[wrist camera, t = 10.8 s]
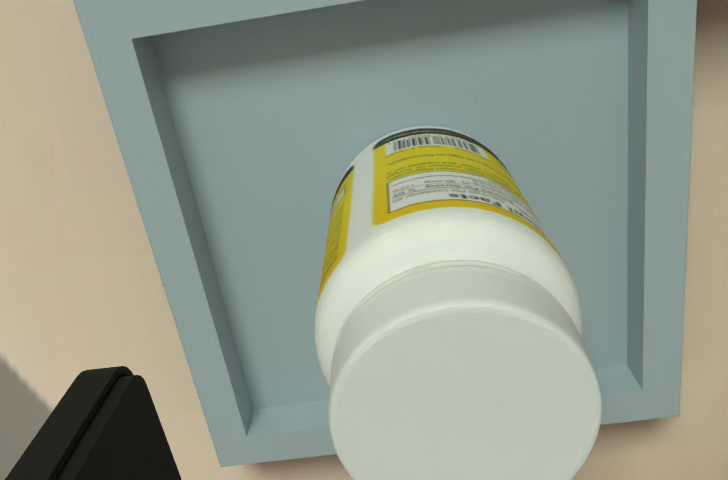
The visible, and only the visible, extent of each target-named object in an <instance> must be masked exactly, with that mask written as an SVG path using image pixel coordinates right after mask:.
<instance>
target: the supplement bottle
mask: <svg viewBox="0 0 728 480" xmlns="http://www.w3.org/2000/svg"><path fill="white" fill-rule="evenodd" d="M581 336H582V311H581V305H580V300H579V296H578V292H577V289H576V286H575V283H574V281H573V278H572V276H571V274H570V272H569V270H568V268H567V266H566V264H565V262H564V260H563V259H562V257H561V255H560V254H559V252H558V251H557V250H556V248H555V246H554V245H553V243H552V241H551V240H550V238H549V237H548V235H547V233H546V232H545V230H544V229H543V227H542V225H541V223H540V222H539V220H538V218H537V217H536V215H535V214H534V212H533V211H532V209H531V207H530V206H529V204H528V202H527V201H526V199H525V198H524V196H523V194H522V193H521V191H520V190H519V188H518V186H517V185H516V183H515V182H514V180H513V178H512V177H511V175H510V173H509V172H508V170H507V169H506V167H505V166H504V164H503V163H502V162H501V160H500V159H499V158H498V157H497V156H496V155H495V154H494V153H493V152H492V151H491V150H490V149H489V148H488V147H487V146H485V145H484V144H483V143H481V142H480V141H478V140H476V139H475V138H473V137H471V136H469V135H467V134H465V133H462V132H460V131H457V130H453V129H450V128H445V127H438V126H416V127H410V128H405V129H401V130H398V131H395V132H392V133H390V134H387V135H385V136H383V137H381V138H379V139H378V140H376V141H374V142H373V143H371V144H370V145H369V146H367V147H366V148H365V149H364V150H363V151H362V152H360V153H359V154H358V155H357V156H356V157H355V159H354V160H353V161H352V162H351V164H350V165H349V166H348V168H347V169H346V171H345V172H344V174H343V176H342V177H341V179H340V181H339V183H338V186H337V188H336V191H335V194H334V198H333V202H332V207H331V214H330V221H329V228H328V236H327V242H326V249H325V257H324V264H323V270H322V276H321V283H320V289H319V294H318V300H317V305H316V313H315V345H316V351H317V355H318V360H319V364H320V367H321V370H322V372H323V375H324V377H325V379H326V381H327V383H328V385H329V387H330V390H329V405H328V420H329V430H330V435H331V439H332V443H333V446H334V449H335V451H336V454H337V456H338V458H339V460H340V462H341V463H342V465H343V467H344V468H345V470H346V471H347V472H348V474H349V475H350V476H351V478H352V479H353V480H571V479H572V478H573V477H574V476H575V475H576V473H577V472H578V471H579V470H580V468H581V467H582V466H583V464H584V463H585V461H586V459H587V458H588V456H589V454H590V453H591V451H592V449H593V446H594V444H595V441H596V439H597V436H598V432H599V428H600V424H601V417H602V397H601V392H600V386H599V382H598V378H597V374H596V372H595V370H594V368H593V365H592V363H591V361H590V358H589V356H588V354H587V352H586V349H585V347H584V344H583V341H582V338H581Z"/></svg>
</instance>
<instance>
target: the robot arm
mask: <svg viewBox="0 0 728 480" xmlns="http://www.w3.org/2000/svg"><path fill="white" fill-rule="evenodd" d="M5 480H181V477H180V474H179V471H178V469H177V466H176V463H175V461H174V458H173V455H172V452H171V450H170V447H169V444H168V442H167V439H166V436H165V433H164V431H163V428H162V425H161V423H160V420H159V417H158V414H157V412H156V409H155V406H154V404H153V401H152V398H151V395H150V393H149V390H148V387H147V385H146V382H145V380H144V379H143V378H142V377H141V376H139V375H133V374H132V372H131V371H130V370H129V369H128V368H127V367H124V366H120V367H110V368H101V369H92V370H86V371H83V372H81V373H80V374H79V375H78V376H77V377H76V379H75V380H74V382H73V383H72V385H71V386H70V387H69V389H68V390H67V392H66V393H65V395H64V396H63V397H62V399H61V400H60V402H59V403H58V405H57V406H56V407H55V409H54V410H53V412H52V413H51V415H50V416H49V418H48V419H47V420H46V422H45V423H44V425H43V426H42V428H41V429H40V431H39V432H38V433H37V435H36V436H35V438H34V439H33V440H32V442H31V443H30V445H29V446H28V447H27V449H26V450H25V452H24V453H23V455H22V456H21V458H20V459H19V461H18V462H17V463H16V465H15V466H14V468H13V469H12V470H11V472H10V473H9V475H8V476H7V478H6V479H5Z"/></svg>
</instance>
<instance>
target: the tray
mask: <svg viewBox="0 0 728 480" xmlns="http://www.w3.org/2000/svg"><path fill="white" fill-rule="evenodd" d="M73 2H74V5H75V8H76V11H77V14H78V18H79V21H80V24H81V27H82V30H83V33H84V37H85V40H86V43H87V46H88V49H89V52H90V55H91V59H92V62H93V65H94V68H95V71H96V74H97V78H98V81H99V84H100V87H101V90H102V93H103V97H104V100H105V103H106V106H107V109H108V112H109V116H110V119H111V122H112V125H113V128H114V131H115V134H116V138H117V141H118V144H119V147H120V150H121V153H122V157H123V160H124V163H125V166H126V169H127V172H128V176H129V179H130V182H131V185H132V188H133V191H134V195H135V198H136V201H137V204H138V207H139V210H140V213H141V217H142V220H143V223H144V226H145V229H146V232H147V236H148V239H149V242H150V245H151V248H152V251H153V255H154V258H155V261H156V264H157V267H158V270H159V273H160V277H161V280H162V283H163V286H164V289H165V292H166V296H167V299H168V302H169V305H170V308H171V311H172V315H173V318H174V321H175V324H176V327H177V330H178V334H179V337H180V340H181V343H182V346H183V349H184V352H185V356H186V359H187V362H188V365H189V368H190V371H191V375H192V378H193V381H194V384H195V387H196V390H197V394H198V397H199V400H200V403H201V406H202V409H203V413H204V416H205V419H206V422H207V425H208V428H209V431H210V435H211V438H212V441H213V444H214V447H215V450H216V454H217V457H218V460H219V463H220V466H221V467H226V466H235V465H244V464H253V463H262V462H271V461H280V460H289V459H298V458H307V457H316V456H325V455H334V454H336V451H335V449H334V446H333V443H332V439H331V435H330V430H329V420H328V405H329V390H330V387H329V385H328V383H327V381H326V379H325V377H324V375H323V372H322V370H321V367H320V364H319V360H318V355H317V351H316V345H315V313H316V305H317V300H318V294H319V289H320V283H321V276H322V270H323V264H324V257H325V249H326V242H327V236H328V228H329V221H330V214H331V207H332V202H333V198H334V194H335V191H336V188H337V186H338V183H339V181H340V179H341V177H342V176H343V174H344V172H345V171H346V169H347V168H348V166H349V165H350V164H351V162H352V161H353V160H354V159H355V157H356V156H357V155H358V154H359V153H360V152H362V151H363V150H364V149H365V148H366V147H367V146H369V145H370V144H371V143H373V142H374V141H376V140H378V139H379V138H381V137H383V136H385V135H387V134H390V133H392V132H395V131H398V130H401V129H405V128H410V127H416V126H438V127H445V128H450V129H453V130H457V131H460V132H462V133H465V134H467V135H469V136H471V137H473V138H475V139H476V140H478V141H480V142H481V143H483V144H484V145H485V146H487V147H488V148H489V149H490V150H491V151H492V152H493V153H494V154H495V155H496V156H497V157H498V158H499V159H500V160H501V162H502V163H503V164H504V166H505V167H506V169H507V170H508V172H509V173H510V175H511V177H512V178H513V180H514V182H515V183H516V185H517V186H518V188H519V190H520V191H521V193H522V194H523V196H524V198H525V199H526V201H527V202H528V204H529V206H530V207H531V209H532V211H533V212H534V214H535V215H536V217H537V218H538V220H539V222H540V223H541V225H542V227H543V229H544V230H545V232H546V233H547V235H548V237H549V238H550V240H551V241H552V243H553V245H554V246H555V248H556V250H557V251H558V252H559V254H560V255H561V257H562V259H563V260H564V262H565V264H566V266H567V268H568V270H569V272H570V274H571V276H572V278H573V281H574V283H575V286H576V289H577V292H578V296H579V300H580V305H581V311H582V336H581V338H582V341H583V344H584V347H585V349H586V352H587V354H588V356H589V358H590V361H591V363H592V365H593V368H594V370H595V372H596V374H597V378H598V382H599V386H600V392H601V397H602V417H601V424H600V425H604V424H613V423H622V422H631V421H640V420H649V419H658V418H667V417H676V416H679V412H680V388H681V365H682V342H683V318H684V295H685V271H686V248H687V224H688V201H689V177H690V154H691V130H692V107H693V83H694V60H695V36H696V13H697V0H73Z"/></svg>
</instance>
